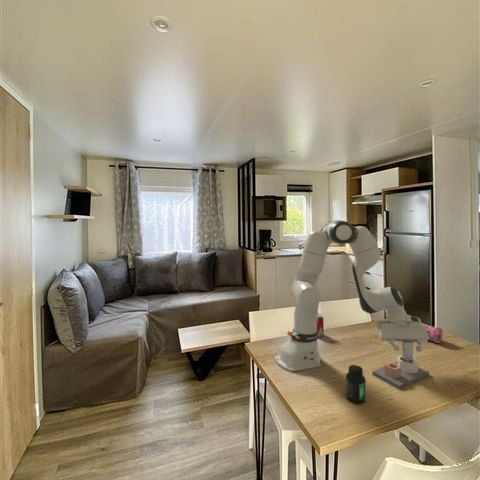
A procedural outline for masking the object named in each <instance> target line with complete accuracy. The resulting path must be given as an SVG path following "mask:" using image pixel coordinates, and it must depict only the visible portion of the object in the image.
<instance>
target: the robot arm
mask: <svg viewBox="0 0 480 480" xmlns="http://www.w3.org/2000/svg"><path fill="white" fill-rule="evenodd" d="M332 244H337V245H346V244H347V245H348V246H350V249H351V250H352V253H353V255H354V262H353V263H352V266H351V269H352V274H353V275H352V276H353V279H354V283H355V286H356V292H357V295H358V301H359V305H360V309H361V310H362V311H363V312H365V313H367V314H369V315H371V314H374V313H378V312H380V311H381V312H382V311H385V316H386V320H378V321H377V322H376V323H375V325H376V328H377V330H378V336H379V339H380V340H381V341H382V342H388V343H389V344H390V345H391V347H392V348H393V350H394V351H396V352H398V351H400V348H399V345H396V343H395V342H401V343H403V340H408V341H411V342H413V343H416V344H417V346H416V347H415V349H416V352H418V353H419V352H422V351H423V349H422V345H423V343H426V342H428V341H429V340H428V339H429V335H428V333H427V331H426V329H425V327H424V326H423V325H422V324H423V323H421V322H422V321H421V320H422V319H420V318H419V317H417V316H412V315H410V314H408V313H407V311H406V310H405V306H404V304H405V301H404V298H403V295H402V293H401V291H400V289H398V288H396V287H393V286H387V287H382V288H380V289H376V290H373V291H368V290H367V288H366V283H365V278H364V275H365V274H366V273H367V272H368V271H369V270H371V269H372V268H373V267H374V266H376V264H378V262H379V260H380V259H381V251H380V247H379V246H378V244H377V241H376V240H375V238H374V236H373V235H372V233H371V232H370V230H368V228H367V227H366V226H362V225H358V226H354V225H352V224H351V223H350V222H348V221H346V220H339V219H337V220H331V221H329V222H328V223H326V224H325V225H324V226H323V227H322V228H321V230H317V229H316V230H315V229H314V230H311V231H310V232H309V233H308V235H307V238H306V239H305V244H304V246H303V250H302V253H301V257H300V261H299V266H298V268H297V269H298V270H297V271H296V274H295V276H294V280H293V281H292V285H291V291H292V293H293V295H294V298H295V306H294V312H293V329H292V331H290V330H288V331H287V333H286V334H287V335H288V336H290V338H289V339H288V340H287V341H286V342H285V343H284V344H283V345H282V346H281V347H280V350H279V354H278V355H277V356H274V361H275V362H276V363H277V364H278V366H279V367H281V368H282V369H284V370H286V371H289V372H296V371H297V372H299V371H303V370H308V369H314V368H318V367H321V363H320V362H321V356H320V351H319V346H318V345H319V344H318V339H319V337H318V331H317V314H318V311H319V306H320V301H321V293H320V290H319V288H318V287H317V282H318V279H319V277H320V275H321V274H322V273H323V270H324V266H325V263H326V258H327V253H328V250H329V247H330V246H331V245H332Z"/></svg>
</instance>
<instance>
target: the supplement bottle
mask: <svg viewBox="0 0 480 480" xmlns="http://www.w3.org/2000/svg"><path fill="white" fill-rule="evenodd" d="M363 371H364V370H363V368H362V367H361V366H359V365H357V364H350V365H349V366H348V372H347V373H346V375H345V398H346V399H347V401H348V402H350V403H352V404H354V405H362V404H364V403H365V402H366V386H367V385H366V384H367V383H366V382H367V381H366V380H367V379H366V377H365V375H364V373H363Z"/></svg>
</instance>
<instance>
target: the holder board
mask: <svg viewBox="0 0 480 480" xmlns="http://www.w3.org/2000/svg"><path fill="white" fill-rule="evenodd" d="M371 372H372V373H371V375H372V376H374V377H376V378H378V379H379V380H381V381H383V382H385V383H387V384H388V385H390V386H393V387H394V388H396V389H398V390H401V389H403V388H405V387H407V386H410V385H411V384H413V383H416V382H418V381H420V380H422V379H424V378H427V376H429V375H430V371H428V370H426V369H424V368H422V367H419V361H418V360H417V358H415V357H413V363H406V362H404V361H402V355H398V356H397V361H395V362H391V361H390V362H388V363H386V364H384V366H382V367H379V368H377V369H374V370H372V371H371Z"/></svg>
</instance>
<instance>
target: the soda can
mask: <svg viewBox="0 0 480 480" xmlns="http://www.w3.org/2000/svg"><path fill="white" fill-rule="evenodd" d="M324 321H325V319H324V317H323V315H322V314H321V313H317V331H318V338H319V337H323V336H324V332H325V330H324V327H325V325H324V323H325V322H324Z"/></svg>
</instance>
